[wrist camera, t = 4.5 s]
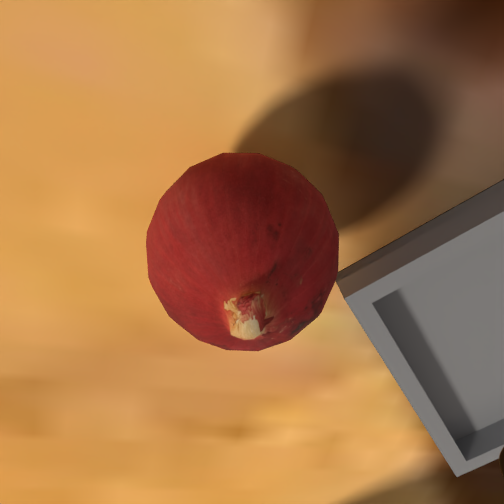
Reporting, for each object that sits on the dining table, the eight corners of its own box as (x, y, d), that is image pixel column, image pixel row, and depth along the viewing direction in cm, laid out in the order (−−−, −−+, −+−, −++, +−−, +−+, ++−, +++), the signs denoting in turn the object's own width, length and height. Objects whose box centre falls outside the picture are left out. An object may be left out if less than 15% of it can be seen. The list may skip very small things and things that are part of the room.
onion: (343, 207, 18) (432, 330, 11) (238, 299, 19) (253, 462, 12) (237, 95, 16) (257, 154, 8) (128, 209, 17) (66, 341, 10)
